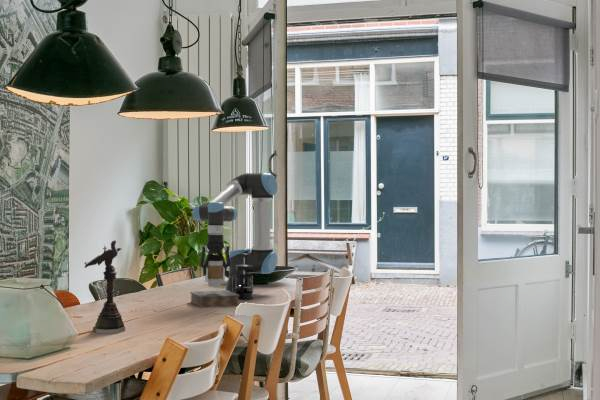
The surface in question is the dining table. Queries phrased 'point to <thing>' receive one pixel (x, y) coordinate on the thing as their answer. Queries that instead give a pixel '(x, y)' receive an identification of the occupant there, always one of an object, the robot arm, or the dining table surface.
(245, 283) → the french press
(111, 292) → the bird statue
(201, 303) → the walnut stand
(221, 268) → the coffee cup
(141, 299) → the dining table surface
